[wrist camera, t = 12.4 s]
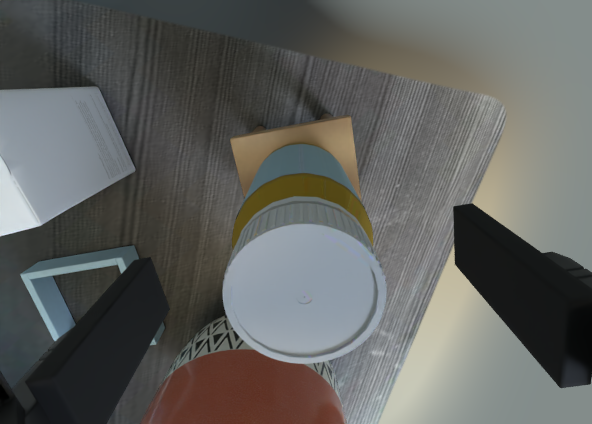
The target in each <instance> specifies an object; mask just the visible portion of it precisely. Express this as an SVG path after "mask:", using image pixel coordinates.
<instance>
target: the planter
mask: <svg viewBox="0 0 592 424" xmlns="http://www.w3.org/2000/svg"><path fill="white" fill-rule="evenodd" d="M140 424H347V421H346V417H345V412H344V408H343V403H342V398H341V394H340V389H339V386H338V382H337V379H336V375H335V372H334V370H333V367H332V365H331V363H330V360H329V361H324V362H319V363H310V364H298V363H289V362H284V361H279V360H276V359H273V358H270V357H268V356H266V355H264V354H262V353H260V352H258V351H256V350H255V349H253V348H252V347H250V346H249V345H248V344H247V343H246V342H244V341H243V340H242V339H241V338H240V336H239V335H238V334H237V333H236V332H235V330H234V329H233V327H232V326H231V324H230V322H229V320H228V317H227V315H225V316H222V317H220V318H218V319H216V320H214V321H212V322H211V323H209V324H208V325H207V326H205V327H204V328H203V329H201V330H200V331H199V332H198V333H197V334H196V335H195V336H194V337H193V338H192V339H191V340H190V341H189V342H188V343H187V344H186V345H185V347H184V348H183V349H182V350H181V352H180V353H179V354H178V356H177V357H176V359H175V360H174V362H173V363H172V365H171V367H170V368H169V370H168V372H167V374H166V376H165V377H164V379H163V381H162V383H161V385H160V387H159V388H158V390H157V392H156V394H155V396H154V398H153V399H152V401H151V403H150V405H149V407H148V409H147V411H146V413H145V415H144V416H143V418H142V420H141V422H140Z"/></svg>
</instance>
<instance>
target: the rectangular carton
mask: <svg viewBox="0 0 592 424" xmlns="http://www.w3.org/2000/svg"><path fill="white" fill-rule="evenodd" d="M133 172H135V167H134V165H133V163H132V160H131V158H130V156H129V154H128V151H127V149H126V147H125V145H124V143H123V140H122V138H121V136H120V134H119V132H118V129H117V127H116V125H115V123H114V121H113V118H112V116H111V114H110V112H109V110H108V107H107V105H106V103H105V101H104V99H103V96H102V94H101V92H100V90H99V88H98V87H96V86H94V87H67V88H39V89H12V90H0V236H3V235H7V234H11V233H15V232H19V231H23V230H27V229H30V228H34V227H38V226H41V225H43V224H44V223H46V222H47V221H49V220H50V219H52V218H54V217H56V216H57V215H59V214H61V213H62V212H64V211H66V210H68V209H69V208H71V207H73V206H75V205H76V204H78V203H80V202H82V201H84V200H85V199H87V198H89V197H91V196H92V195H94V194H96V193H98V192H99V191H101V190H103V189H105V188H106V187H108V186H110V185H112V184H114V183H115V182H117V181H119V180H121V179H122V178H124V177H126V176H128V175H129V174H131V173H133Z"/></svg>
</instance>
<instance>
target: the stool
mask: <svg viewBox="0 0 592 424" xmlns="http://www.w3.org/2000/svg"><path fill="white" fill-rule="evenodd" d="M230 142H231V146H232V150H233V154H234V158H235V162H236V166H237V170H238V174H239V178H240V183H241V187H242V191H243V195H244V199H245V197H246V195H247V193H248V190H249V188H250V186H251V184H252V182H253V179H254V177H255V175H256V173H257V171H258V169H259V167H260V165H261V164H262V162H263V161H264V160H265V159H266V158H267V157H268V156H269V155H270V154H271V153H272V152H273V151H275V150H277V149H279V148H281V147H283V146H285V145H288V144H295V143H307V144H312V145H316V146H319V147H321V148H323V149H325V150H326V151H328V152H330V153H331V154H332V155H333V156H334V157H335V158H336V160H337V161H338V162H339V163H340V164H341V166H342V167H343V169H344V171H345V173H346V175H347V176H348V178H349V180H350V182H351V184H352V186H353V188H354V189H355V191H356V193H357V195H358V197H359V199H360V200H361V193H360V185H359V177H358V169H357V161H356V153H355V145H354V137H353V130H352V122H351V116H349V115H343V116H338V117H333V116H332V115H331V114H324V115H322V117H321V118H320V120H317V121H311V122H306V123H301V124H295V125H290V126H285V127H280V128H274V129H269V130H266V129H265V128H264V127H262V126H258V127H256V128H255V129H254V130H253V131H252V133H248V134H243V135H237V136H233V137H232V138H231V139H230ZM361 202H362V201H361Z"/></svg>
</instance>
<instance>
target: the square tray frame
mask: <svg viewBox="0 0 592 424" xmlns="http://www.w3.org/2000/svg"><path fill="white" fill-rule="evenodd" d="M137 259H139V257H138V254H137V252H136V249H135V246H134V245H132V246H128V247H127V246H126V247H120V248H114V249H108V250H103V251H97V252H91V253H85V254H79V255H73V256H68V257H62V258H56V259H50V260H45V261H39V262H37V263H36V264H35V265H33V266H32V267H30V268H29V269H27V270H26V271H24V272H23V273H22V274H20V275H21V277H22V279H23V281H24V283H25V285H26V287H27V289H28V291H29V293H30V295H31V297H32V299H33V301H34V302H35V304H36V306H37V308H38V310H39V312H40V314H41V316H42V318H43V320H44V322H45V324H46V326H47V328H48V330H49V331H50V333H51V335H52V337H53V339H54V341H56V340H57V339H58V338H59V337H61V336H62V335H63V334H65V333H66V332H67V331H69V330H70V329H71V328H73V327H74V326H75V325H76V324H75V322H74V320H73V318H72V316H71V314H70V312H69V309H68V307H67V305H66V303H65V301H64V299H63V297H62V295H61V293H60V291H59V289H58V287H57V285H56V282H55V280H54V278H53V275H59V274H65V273H71V272H77V271H83V270H89V269H95V268H101V267H107V266H113V265H118V267H119V269H120V272H121V274H122V273H123V272H124V271H125V269H126V268H127V267H128V266H129V265H130V264H131V263H132V262H133V261H134V260H137ZM164 329H165V326H164V323H163V322H162V324H161V326H160V328H159V329H158V331H157V333H156V335H155V337H154V338H153V340H152V342H151V344H150V345H155V344H157V342H158V340H159V339H160V337H161V335H162V333H163V331H164Z"/></svg>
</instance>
